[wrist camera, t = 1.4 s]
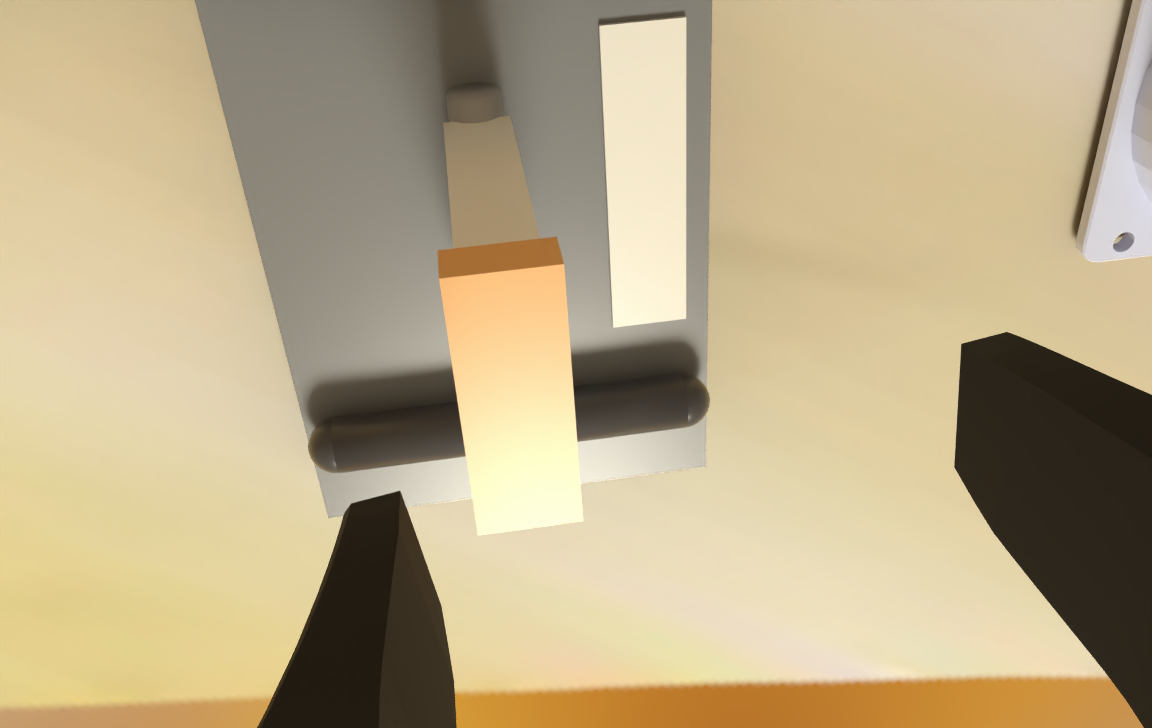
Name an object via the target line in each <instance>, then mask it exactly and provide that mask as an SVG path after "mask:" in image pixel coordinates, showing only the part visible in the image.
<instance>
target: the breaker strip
mask: <svg viewBox="0 0 1152 728" xmlns="http://www.w3.org/2000/svg"><path fill="white" fill-rule="evenodd" d="M195 2H196V6H197V10H198V14H199V18H200V22H201V26H202V30H203V33H204V37H205V41H206V45H207V49H208V53H209V57H210V61H211V65H212V68H213V72H214V76H215V80H216V84H217V88H218V92H219V96H220V99H221V103H222V107H223V111H224V115H225V119H226V123H227V127H228V130H229V134H230V138H231V142H232V146H233V150H234V154H235V158H236V161H237V165H238V169H239V173H240V177H241V181H242V185H243V189H244V193H245V196H246V200H247V204H248V208H249V212H250V216H251V220H252V224H253V227H254V231H255V235H256V239H257V243H258V247H259V251H260V255H261V258H262V262H263V266H264V270H265V274H266V278H267V282H268V286H269V289H270V293H271V297H272V301H273V305H274V309H275V313H276V317H277V321H278V324H279V328H280V332H281V336H282V340H283V344H284V348H285V352H286V355H287V359H288V363H289V367H290V371H291V375H292V379H293V383H294V386H295V390H296V394H297V398H298V402H299V406H300V410H301V414H302V417H303V421H304V425H305V429H306V433H307V437H308V441H309V443H308V450H309V454H310V457H311V459H312V460H313V462H314V464H315V468H316V472H317V476H318V480H319V483H320V487H321V491H322V495H323V499H324V503H325V507H326V511H327V514H328V518H332V517H339V516H344V513H345V511H346V510H347V509H348V507H349V506H350V504H351V503H355V502H358V501H362V500H366V499H370V498H374V497H377V496H381V495H385V494H389V493H393V492H397V491H401V494H402V497H403V499H404V502H405V505H406V507H413V506H421V505H428V504H435V503H443V502H450V501H458V500H465V499H472V493H471V487H470V480H469V473H468V467H467V460H466V454H465V447H464V440H463V434H462V427H461V421H460V414H459V407H458V401H457V394H456V388H455V381H454V375H453V368H452V361H451V355H450V348H449V342H448V335H447V328H446V322H445V315H444V309H443V302H442V295H441V289H440V282H439V270H438V251H437V250H444V249H453V239H452V226H451V214H450V201H449V189H448V177H447V164H446V152H445V140H444V127H443V123H444V122H449V119H448V111H447V103H446V96H445V93H446V92H447V91H448V90H449V89H451V88H453V87H455V86H459V85H463V84H468V83H491V84H495V85H498V86H499V87H500V88H501V93H502V103H503V112H504V116H510V117H511V121H512V125H513V129H514V134H515V138H516V142H517V146H518V150H519V154H520V158H521V163H522V167H523V171H524V175H525V179H526V183H527V187H528V192H529V196H530V200H531V204H532V208H533V212H534V216H535V220H536V225H537V229H538V233H539V237H540V238H549V237H557V240H558V243H559V247H560V251H561V254H562V258H563V262H564V269H565V282H566V296H567V309H568V323H569V336H570V350H571V363H572V377H573V390H574V404H575V417H576V431H577V444H578V458H579V472H580V484H583V483H591V482H598V481H606V480H613V479H621V478H628V477H635V476H643V475H650V474H658V473H665V472H672V471H680V470H687V469H695V468H702V467H706V413H707V411H708V408H709V402H710V398H709V393H708V391H707V326H708V255H709V185H710V114H711V43H712V0H195Z"/></svg>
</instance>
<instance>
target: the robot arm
mask: <svg viewBox="0 0 1152 728" xmlns="http://www.w3.org/2000/svg"><path fill="white" fill-rule="evenodd" d="M1122 233H1125V234H1124V236H1123V238H1122V239H1121V240H1120V241H1119V242H1118V243H1116V244H1113V243H1114V241H1115V239H1116V238H1117V237H1118V236H1119V235H1120V234H1122ZM1076 249H1077V251H1078V253H1079V254H1081V255H1082V256H1083V257H1084V258H1085V259H1087V260H1089V261H1090V262H1105V261H1113V260H1121V259H1129V258H1137V257H1145V256H1152V0H1132V5H1131V9H1130V13H1129V17H1128V22H1127V26H1126V30H1125V34H1124V39H1123V43H1122V47H1121V51H1120V56H1119V60H1118V64H1117V68H1116V73H1115V77H1114V81H1113V85H1112V90H1111V94H1110V98H1109V102H1108V107H1107V111H1106V115H1105V119H1104V124H1103V128H1102V132H1101V136H1100V141H1099V145H1098V149H1097V154H1096V158H1095V162H1094V166H1093V171H1092V175H1091V179H1090V183H1089V188H1088V192H1087V196H1086V200H1085V205H1084V209H1083V213H1082V217H1081V222H1080V226H1079V230H1078V234H1077V239H1076ZM954 467H955V469H956V471H957V472H958V474H959V476H960V478H961V479H962V481H963V483H964V485H965V486H966V488H967V490H968V492H969V493H970V495H971V497H972V499H973V500H974V502H975V504H976V505H977V507H978V509H979V510H980V512H981V513H982V515H983V517H984V518H985V520H986V521H987V523H988V525H989V526H990V528H991V529H992V531H993V533H994V534H995V535H996V536H997V538H998V539H999V540H1000V542H1001V543H1002V544H1003V545H1004V547H1005V548H1006V549H1007V551H1008V552H1009V553H1010V554H1011V556H1012V557H1013V558H1014V559H1015V561H1016V562H1017V563H1018V564H1019V566H1020V567H1021V568H1022V569H1023V571H1024V572H1025V573H1026V575H1027V576H1028V577H1029V578H1030V580H1031V581H1032V582H1033V583H1034V585H1035V586H1036V587H1037V588H1038V589H1039V591H1040V592H1041V593H1042V594H1043V596H1044V597H1045V598H1046V599H1047V601H1048V602H1049V603H1050V604H1051V606H1052V607H1053V608H1054V609H1055V610H1056V612H1057V613H1058V614H1059V615H1060V617H1061V618H1062V619H1063V620H1064V622H1065V623H1066V624H1067V625H1068V626H1069V628H1070V629H1071V630H1072V631H1073V633H1074V634H1075V635H1076V636H1077V638H1078V639H1079V640H1080V641H1081V643H1082V644H1083V645H1084V646H1085V648H1086V649H1087V650H1088V651H1089V652H1090V654H1091V655H1092V656H1093V657H1094V659H1095V660H1096V661H1097V662H1098V664H1099V665H1100V666H1101V667H1102V669H1103V670H1104V671H1105V673H1106V674H1107V675H1108V677H1109V678H1110V679H1111V681H1112V682H1113V683H1114V685H1115V686H1116V687H1117V689H1118V690H1119V691H1120V693H1121V694H1122V695H1123V697H1124V698H1125V699H1126V701H1127V702H1128V704H1129V705H1130V707H1131V708H1132V710H1133V712H1134V713H1135V715H1136V716H1137V718H1138V719H1139V721H1140V722H1141V724H1142V725H1143V727H1144V728H1152V395H1151V394H1148V393H1146V392H1144V391H1141V390H1139V389H1137V388H1135V387H1132V386H1130V385H1128V384H1126V383H1123V382H1121V381H1119V380H1117V379H1114V378H1112V377H1110V376H1108V375H1105V374H1103V373H1101V372H1099V371H1097V370H1094V369H1092V368H1090V367H1088V366H1085V365H1083V364H1081V363H1079V362H1077V361H1074V360H1072V359H1070V358H1068V357H1065V356H1063V355H1061V354H1059V353H1056V352H1054V351H1052V350H1050V349H1047V348H1045V347H1043V346H1041V345H1038V344H1036V343H1034V342H1031V341H1029V340H1026V339H1024V338H1021V337H1019V336H1016V335H1014V334H1011V333H1008V332H1005V333H1001V334H998V335H994V336H990V337H986V338H982V339H978V340H975V341H971V342H967V343H963V344H961V362H960V379H959V396H958V414H957V431H956V449H955V466H954ZM257 728H456V710H455V692H454V679H453V673H452V666H451V660H450V654H449V648H448V642H447V636H446V630H445V625H444V619H443V613H442V607H441V604H440V601H439V598H438V595H437V592H436V590H435V587H434V584H433V581H432V578H431V576H430V573H429V570H428V567H427V564H426V561H425V559H424V556H423V553H422V550H421V547H420V545H419V542H418V539H417V536H416V533H415V530H414V528H413V525H412V522H411V519H410V516H409V514H408V511H407V508H406V505H405V502H404V499H403V497H402V494H401V491H397V492H393V493H389V494H385V495H381V496H377V497H374V498H370V499H366V500H362V501H358V502H355V503H351V504H350V506H349V507H348V509H347V510H346V511H345V513H344V516H343V520H342V523H341V527H340V530H339V534H338V537H337V540H336V543H335V546H334V549H333V552H332V555H331V558H330V561H329V564H328V567H327V570H326V573H325V575H324V578H323V581H322V584H321V586H320V589H319V592H318V594H317V597H316V599H315V602H314V604H313V607H312V609H311V612H310V614H309V617H308V619H307V622H306V624H305V627H304V629H303V631H302V634H301V636H300V639H299V641H298V644H297V646H296V648H295V651H294V653H293V655H292V657H291V659H290V661H289V664H288V666H287V668H286V670H285V672H284V674H283V676H282V678H281V680H280V682H279V685H278V687H277V689H276V691H275V693H274V695H273V697H272V699H271V701H270V704H269V706H268V708H267V710H266V712H265V714H264V716H263V718H262V720H261V722H260V723H259V725H258V727H257Z"/></svg>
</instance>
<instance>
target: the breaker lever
mask: <svg viewBox="0 0 1152 728" xmlns="http://www.w3.org/2000/svg"><path fill="white" fill-rule="evenodd" d="M445 96H446V103H447V111H448V119H449V122H444V123H443V127H444V140H445V152H446V164H447V177H448V189H449V201H450V214H451V226H452V239H453V249H444V250H437V251H438V270H439V282H440V289H441V295H442V302H443V309H444V315H445V322H446V328H447V335H448V342H449V348H450V355H451V361H452V368H453V375H454V381H455V388H456V394H457V401H458V407H459V414H460V421H461V427H462V434H463V440H464V447H465V454H466V460H467V467H468V473H469V480H470V487H471V493H472V500H473V506H474V513H475V520H476V526H477V533H478V536H479V535H486V534H493V533H500V532H508V531H515V530H522V529H529V528H537V527H544V526H551V525H558V524H566V523H573V522H580V521H583V512H582V499H581V485H580V472H579V458H578V444H577V431H576V417H575V404H574V390H573V377H572V363H571V350H570V336H569V323H568V309H567V296H566V282H565V269H564V262H563V258H562V254H561V251H560V247H559V243H558V240H557V237H549V238H540V237H539V233H538V229H537V225H536V220H535V216H534V212H533V208H532V204H531V200H530V196H529V192H528V187H527V183H526V179H525V175H524V171H523V167H522V163H521V158H520V154H519V150H518V146H517V142H516V138H515V134H514V129H513V125H512V121H511V117H510V116H504V112H503V103H502V93H501V88H500V87H499V86H498V85H495V84H491V83H468V84H463V85H459V86H455V87H453V88H451V89H449V90H448V91H447V92H446V93H445Z"/></svg>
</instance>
